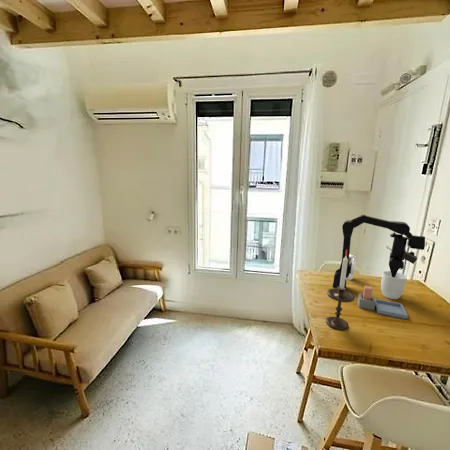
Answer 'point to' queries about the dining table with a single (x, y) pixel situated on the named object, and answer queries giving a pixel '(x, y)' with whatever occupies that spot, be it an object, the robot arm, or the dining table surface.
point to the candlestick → (340, 299)
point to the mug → (392, 285)
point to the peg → (367, 292)
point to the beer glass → (352, 260)
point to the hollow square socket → (366, 302)
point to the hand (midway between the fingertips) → (393, 274)
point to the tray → (390, 309)
